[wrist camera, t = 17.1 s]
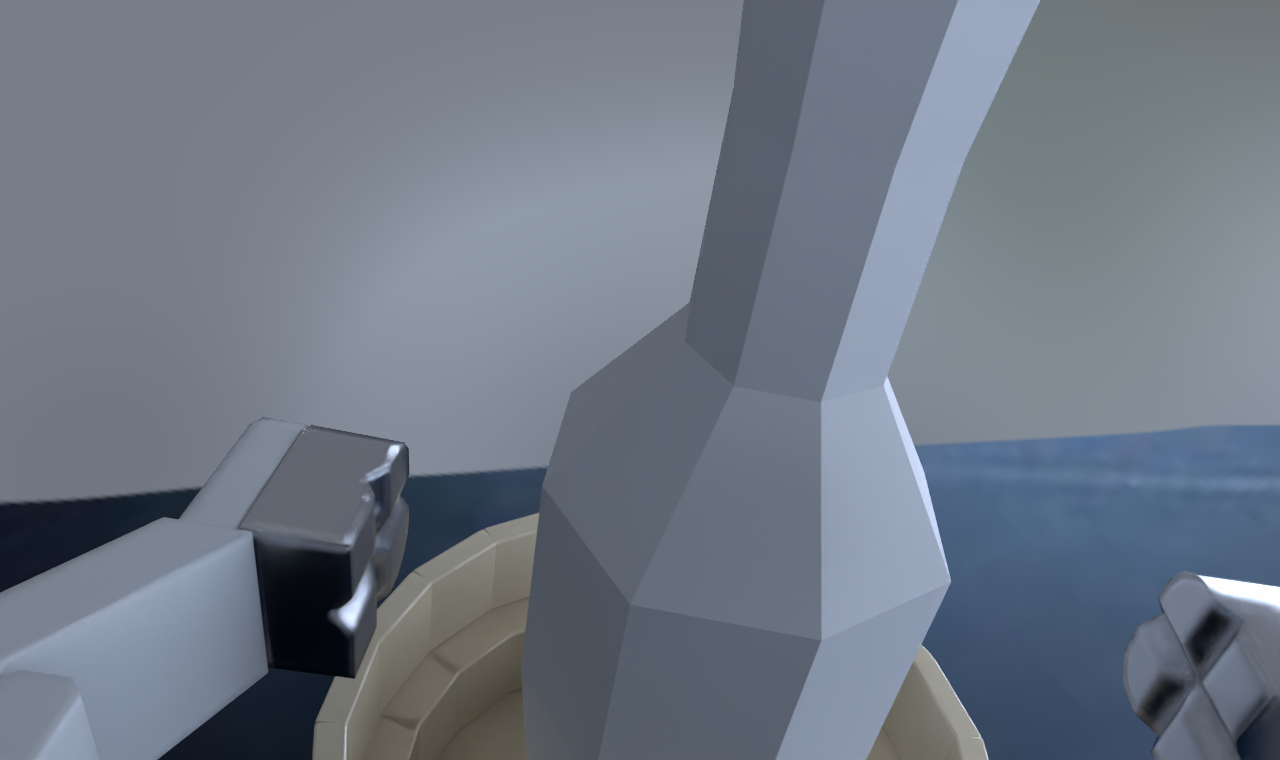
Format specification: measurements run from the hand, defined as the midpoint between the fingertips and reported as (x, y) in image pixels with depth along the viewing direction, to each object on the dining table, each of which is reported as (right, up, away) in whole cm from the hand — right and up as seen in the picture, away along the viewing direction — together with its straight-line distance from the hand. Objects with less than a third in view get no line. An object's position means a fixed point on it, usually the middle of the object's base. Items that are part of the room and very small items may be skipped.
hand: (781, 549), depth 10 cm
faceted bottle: (-2, -9, +11) cm, 14 cm away
